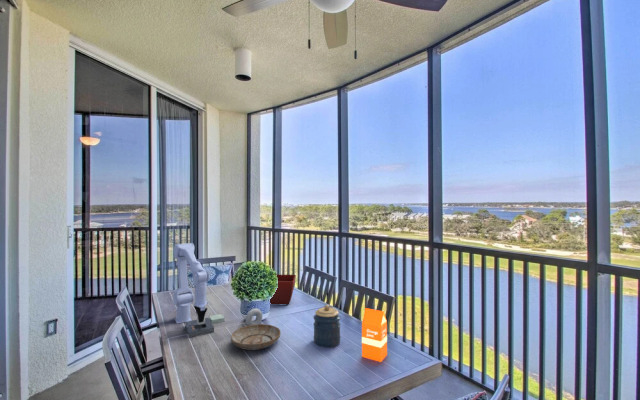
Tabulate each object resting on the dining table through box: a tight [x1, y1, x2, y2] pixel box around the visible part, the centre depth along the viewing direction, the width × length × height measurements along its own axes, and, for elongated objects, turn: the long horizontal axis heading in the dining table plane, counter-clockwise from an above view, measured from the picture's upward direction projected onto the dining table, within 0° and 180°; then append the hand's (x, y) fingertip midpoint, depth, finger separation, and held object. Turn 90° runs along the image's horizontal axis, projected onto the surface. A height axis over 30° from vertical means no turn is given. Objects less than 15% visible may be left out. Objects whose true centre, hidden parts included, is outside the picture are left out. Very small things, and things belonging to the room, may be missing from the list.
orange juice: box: [361, 307, 388, 363], centre depth 131 cm, size 8×9×20 cm
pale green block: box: [208, 313, 225, 325], centre depth 171 cm, size 7×7×2 cm
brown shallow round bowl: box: [230, 323, 281, 351], centre depth 143 cm, size 23×24×5 cm
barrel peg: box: [196, 314, 206, 325], centre depth 157 cm, size 4×4×7 cm
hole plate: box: [184, 317, 215, 338], centre depth 159 cm, size 16×12×3 cm
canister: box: [313, 304, 341, 348], centre depth 144 cm, size 13×13×18 cm
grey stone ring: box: [245, 308, 263, 326], centre depth 162 cm, size 10×4×10 cm, turn 135°
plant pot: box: [269, 274, 297, 305], centre depth 204 cm, size 19×19×17 cm
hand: (200, 320), depth 157 cm, fingers closed on barrel peg, 4 cm apart
